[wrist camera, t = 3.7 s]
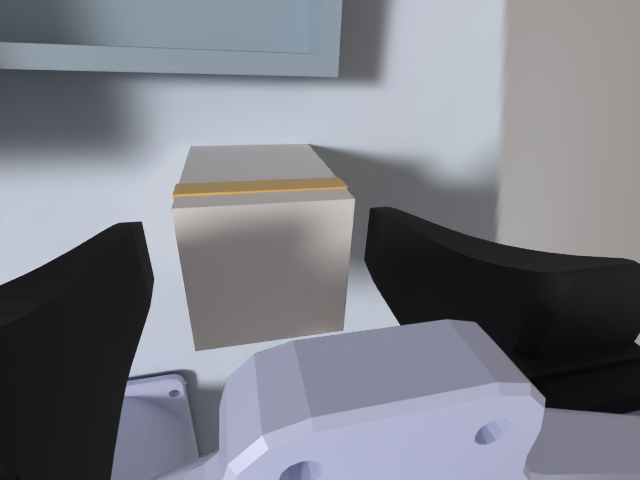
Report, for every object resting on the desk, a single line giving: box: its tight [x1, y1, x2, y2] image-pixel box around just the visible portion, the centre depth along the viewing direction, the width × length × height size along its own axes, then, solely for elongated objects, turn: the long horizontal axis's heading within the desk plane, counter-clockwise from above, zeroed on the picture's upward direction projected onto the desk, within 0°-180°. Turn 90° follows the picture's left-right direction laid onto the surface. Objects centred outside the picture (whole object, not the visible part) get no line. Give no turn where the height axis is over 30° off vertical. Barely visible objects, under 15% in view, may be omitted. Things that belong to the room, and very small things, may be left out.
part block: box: [172, 144, 355, 351], centre depth 12 cm, size 5×5×6 cm
